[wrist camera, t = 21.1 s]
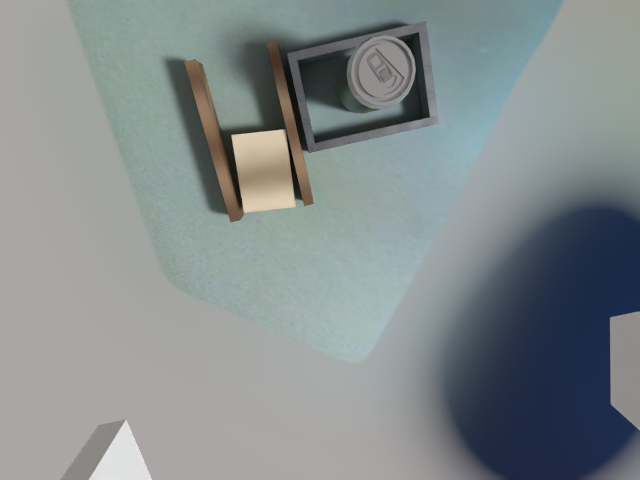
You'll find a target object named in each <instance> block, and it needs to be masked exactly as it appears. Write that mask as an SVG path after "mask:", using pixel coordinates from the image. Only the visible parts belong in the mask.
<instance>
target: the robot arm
mask: <svg viewBox="0 0 640 480" xmlns="http://www.w3.org/2000/svg"><path fill="white" fill-rule="evenodd" d="M610 356H611V405H612V406H613V407H615V408H616V409H617V410H618V411H619V412H620V413H621V414H622V415H623V416H625V417H626V418H627V419H628V420H629V421H630V422H631V423H632V424H634V425H635V426H636V427H637V428H638V429H639V430H640V312H634V313H630V314H625V315H620V316H615V317H611V318H610ZM61 480H152V479H151V477H150V474H149V472H148V469H147V467H146V465H145V462H144V460H143V458H142V456H141V453H140V451H139V448H138V446H137V444H136V441H135V439H134V437H133V434H132V432H131V430H130V428H129V425H128V423H127V421H126V420H122V421H117V422H112V423H107V424H102V425H99V426H98V427H97V429H96V430H95V431H94V433H93V434H92V436H91V437H90V438H89V440H88V442H87V443H86V444H85V446H84V447H83V448H82V450H81V452H80V453H79V454H78V456H77V457H76V458H75V460H74V461H73V463H72V464H71V466H70V467H69V468H68V470H67V471H66V473H65V474H64V476H63V477H62V478H61Z"/></svg>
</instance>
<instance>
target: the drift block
mask: <svg viewBox="0 0 640 480" xmlns="http://www.w3.org/2000/svg"><path fill="white" fill-rule="evenodd" d="M231 136H232V142H233V148H234V154H235V160H236V166H237V173H238V179H239V185H240V191H241V197H242V204H243V210H244V212H253V211H262V210H271V209H280V208H289V207H295V205H296V200H295V192H294V183H293V175H292V167H291V159H290V151H289V143H288V135H287V130H286V129H283V130H274V131H265V132H255V133H246V134H237V135H231Z"/></svg>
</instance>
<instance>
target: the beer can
mask: <svg viewBox="0 0 640 480" xmlns="http://www.w3.org/2000/svg"><path fill="white" fill-rule="evenodd" d="M415 71H416V68H415V60H414V57H413V55H412V52H411V50H410V49H409V48H408V46H407V45H406V44H405V43H404V42H403V41H401V40H399V39H397V38H395V37H393V36H386V35H378V36H373V37H369V38H368V39H366V40H365V41H363V42H361V43H360V44H359V45H358V46H357V48H356V49H355V50H354V51H353V52H352V54H351V55H350V57H349V58H348V60H347V61H346V63H345V64H344V66H343V67H342V69H341V70H340V72H339V75H338V77H337V81H336V92H337V96H338V98H339V100H340V102H341V104H342V105H343V106H344V107H345V108H346V109H348V110H350V111H352V112H354V113H367V112H372V111H376V110H381V109H385V108H390V107H392V106H394V105H396V104H398V103H399V102H401V101H402V100H403V99H404V97H405V96H406V95H407V94H408V93H409V91H410V89H411V87H412V84H413V82H414V78H415Z"/></svg>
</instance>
